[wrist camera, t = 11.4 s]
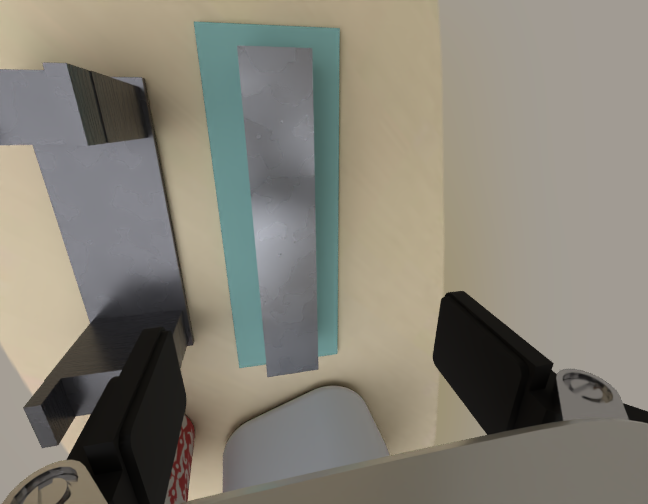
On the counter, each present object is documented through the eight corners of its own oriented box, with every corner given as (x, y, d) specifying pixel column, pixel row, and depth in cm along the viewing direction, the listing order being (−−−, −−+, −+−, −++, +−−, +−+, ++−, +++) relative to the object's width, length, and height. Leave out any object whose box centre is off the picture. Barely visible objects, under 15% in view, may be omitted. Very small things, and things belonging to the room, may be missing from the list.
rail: (239, 59, 21) (236, 45, 17) (301, 60, 21) (312, 48, 18) (265, 344, 29) (267, 377, 25) (310, 339, 29) (318, 369, 26)
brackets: (15, 76, 19) (-161, 41, 11) (144, 78, 20) (72, 48, 12) (103, 353, 27) (37, 455, 18) (194, 341, 28) (170, 432, 20)
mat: (195, 24, 20) (193, 21, 19) (337, 30, 22) (339, 28, 21) (239, 363, 30) (239, 368, 29) (335, 349, 31) (337, 353, 31)
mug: (213, 456, 33) (191, 653, 21) (117, 478, 32) (31, 704, 19) (187, 356, 28) (138, 535, 16) (72, 376, 27) (-81, 590, 14)
